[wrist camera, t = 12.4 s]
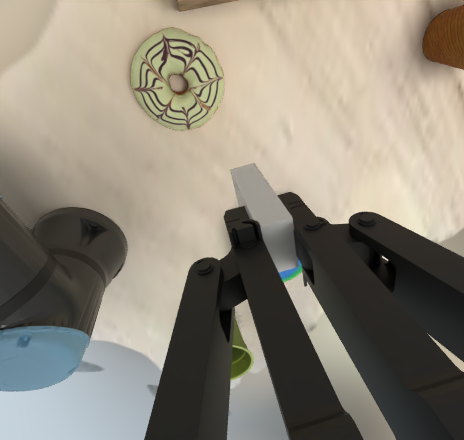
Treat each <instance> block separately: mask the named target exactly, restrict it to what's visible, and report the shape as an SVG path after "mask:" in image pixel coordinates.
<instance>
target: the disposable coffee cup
mask: <svg viewBox="0 0 464 440" xmlns="http://www.w3.org/2000/svg"><path fill="white" fill-rule="evenodd" d="M423 51H424V54H425V56H426V57H427V58H428V59H429V60H431V61H434V62H438V63H441V64H445V65H449V66H452V67H455V68H460V69H463V70H464V5H462V6H459V7H456V8H453V9H449V10H446V11H444V12H442V13H441V14H439V15H438V16H437V17H436V18H435V19H434V20H433V21H432V22H431V23H430V25H429V27H428V28H427V31H426V33H425V36H424V40H423Z"/></svg>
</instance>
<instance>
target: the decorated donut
mask: <svg viewBox="0 0 464 440" xmlns="http://www.w3.org/2000/svg"><path fill="white" fill-rule="evenodd" d="M172 74H177V75H179V74H182V75H183V77H184V78H185V79H186V80H187V82H188V88H187V89H186V90H185V91H183V92H175V91H173V90H172V89H171V86H170V83H169V78H170V76H171V75H172ZM131 86H132V89H133V91H134V93H135V96H136V98H137V100H138V102H139V103H140V105H141V106H142V107H143V109H144V110H145V111H146V112H147V114H148V115H149V116H150V117H152V118H153V119H154V120H155V121H157V122H159V123H160V124H162V125H163V126H165V127H167V128H171V129H173V130H180V131H183V130H191V129H195V128H198V127H201V126H202V125H203V124H204V123H206V122H207V121H208V120H209V119H210V118H211V117H212V115H213V114H214V113H215V111H216V110H217V109H218V106H219V104H220V103H221V101H222V98H223V94H224V75H223V70H222V68H221V66H220V64H219V62H218V60H217V57H216V55H215V52H214V51H213V50H212V48H211V47H209V46H208V45H206V44H204V42H202V40H201V39H200V38H199V37H197V36H193V35H190V34H188V33H186V32H184V31H183V30H181V29H177V28H167V29H164V30H162V31H160V32H158V33H156V34H153V35H152V36H151V37H150V38H149V39H148V40H146V41H145V42H144V43H143V44H142V46H141V47H140V48H139V50H138V52H137V53H136V55H135V57H134V59H133V62H132V65H131Z"/></svg>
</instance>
